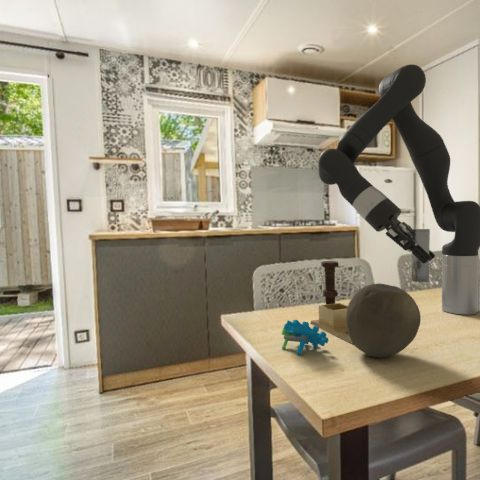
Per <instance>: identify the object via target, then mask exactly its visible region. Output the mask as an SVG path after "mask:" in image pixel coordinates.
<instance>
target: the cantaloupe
mask: <svg viewBox="0 0 480 480" xmlns="http://www.w3.org/2000/svg"><path fill="white" fill-rule="evenodd" d="M347 306H348V307H347V312H346V325H347V329H348V333H349V337H350V339H351V341H352V343H353V344H352V345H354V347H356V348H357V350H360V351H361V352H363V353H364V354H365V355H367V356H370V357H372V358H377V359H379V358H380V359H381V358H387V357H391V356H392V357H393V356H395V355H396V354H399V353H400V352H402V351H404V350H405V349H406V348H407V347H408V346H409V345H410V344H411V343H412V342H413V341H414V340H415V338H416V336H417V334H418V331H419V329H420V325H421V311H420V309H419V306H418V305H417V303H416V301H415V300H414V298H413V297H412V296H411V294H409V293H408V292H406V291H405V290H404V289H402V288H401V287H398V286H395V285H390V284H385V283H379V282H378V283H371V284H369V285H366V286H363V287H362V288H359V290H358V291H357V292H355V294H354V295H353V296H352V298H350V301H349V302H348V304H347Z"/></svg>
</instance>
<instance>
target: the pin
mask: <svg viewBox="0 0 480 480" xmlns="http://www.w3.org/2000/svg"><path fill="white" fill-rule="evenodd" d="M430 231H431V230H430V229H429V228H412V235H413V239H414V240H415V241H416V242H417V243H418V244H419V245H418V246H421V247H422V248H423V249H424V250H425V251H426V252H427V253H428V254H429V250H430V242H431V241H430V238H431V237H430V233H431V232H430ZM411 281H412V282H415V283H416V282H419V283H429V282H430V261H427V262H426V263H422V262H421V261H420V260H419V259H418V258H417V257H416V256H415V255H414V254H413V253H412V252H411Z"/></svg>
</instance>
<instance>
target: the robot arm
mask: <svg viewBox="0 0 480 480" xmlns="http://www.w3.org/2000/svg"><path fill="white" fill-rule="evenodd" d="M426 78H427V77H426V74H425V72H424V70H423V69H422V67H420V66H419V65H417V64H406V65H403V66H402V67H400V68H398V69H396V70H395V71H393V72H391V73H390V74H388V75H387V76H385V77H384V78H383V79H382V80H381V81H380V83H379V85H378V95H379V99H378V100H376V101H377V102H375V103H374V104H372V106H370V107H369V109H366V111H365V112H364V113H363V114H361V115H360V116H359V117H358V118H357V119H355V121H354V122H353V123H352V124H351V125H350V126H349V127H348V128H347V130H346V131H344V133H343V134H342V135H341V136H340V138H339V140H338V142H337V145H336V148H327V149H325V150H323V151H322V152H321V153H320V155H319V157H318V176H319V179H320V180H321V182H322V183H324V184H326V185H332V186H333V185H337V188H338V190H339V193H340V194H341V195H340V196H342V198H343V199H345V201H347V203H349V204H350V206H352V208H353V209H354V210H355V211H356V212H357V214H358V215H359V216H360V217H362V219H364V221H365V222H367V224H369V226H371V228H372V229H374V230H375V231H376V233H377V232H378V233H379V232H382V231H384V230H386V232H385V235H386V236H387V237H388V238H389V239H391V240H392V241H393V242H395V243H396V244H397V245H398V246H399V248H401V249H402V250H403V251H407V252H409V253H411V254H412V253H413V254H414V255H415V256H416V257H417V258H418V259H419V260H420V261H421V262H422V263H426V262H427V261H429V262H431V261H432V260H433V259H434V258H435V257H436V254H435V253H434V252H432V250H431V249H429V254H428V253H427V252H426V251H425V250H424V249H423V248H422V247H421V246H418V245H419V244H418V243H417V242H416V241H415V240H414V239H413V235H412V229H413V227H411V225H409V224H407V223H406V222H405V221H400V220H399V219H398V217H399V216H400V215H401V213H402V210H401V208H399V207H398V206H397V204H396V203H394V202H393V201H392V200H391V199H390V198H389V197H388V196H386V194H384V193H383V192H382V191H381V190H380V189H378V188H377V187H375V186H374V185H373V183H371V182H370V181H368V180H367V178H365V177H364V176H362V174H361V173H360V171H359V170H358V169H357V167H356V166H355V162H356V160H357V159H358V158H359V156H360V155H361V154H362V153H363V152H364V151H365V149H366V148H368V146H369V145H370V144H371V143H372V141H373V140H374V139H375V137H376V136H377V135H378V134H379V133H380V132H381V131H382V130H383V128H385V127H386V126H387V124H389V122H390V121H391V120H392V121H393V123H394V125H395V127H396V129H397V130H398V133H399V135H400V137H401V138H402V140H403V143H404V145H405V147H406V149H407V151H408V154H409V157H410V159H411V161H412V163H413V166H414V169H415V170H416V172H417V173H418V175H419V178H420V181H421V183H422V186H423V188H424V190H425V193H426V195H427V198H428V200H429V204H430V207H431V211H432V214H433V218H434V219H435V222H436V223H437V226H438V227H439V229H441V230H443V231H445V232H447V233H448V232H449V233H450V232H451V233H454V238H453V239H452V241H450V242H447V243H445V244H444V245H442V248H441V253H442V254H441V310H442V311H443V312H446V313H449V314H450V313H451V314H455V315H464V316H465V315H476V314H478V313H479V312H480V280H479V250H480V205H479V204H478V203H477V202H475V201H474V200H461V201H456V200H454V199H453V197H452V194H451V191H450V189H449V185H448V179H449V175H450V170H451V168H450V167H451V155H450V152H449V151H448V149H447V146H446V143H445V141H444V139H443V138H442V136H441V135H440V134H439V133H438V131H436V130H435V129H434V128H433V127H432V126H430V125H429V124H428V123H426V121H423V120H422V119H421V117H419V115H418V114H417V112H416V111H415V108H414V106H413V105H412V102H413V101H414V100H415V99H416V98H418V97H419V96H420V95H421V94H422V92H423V91H424V89H425V87H426V82H427V79H426Z"/></svg>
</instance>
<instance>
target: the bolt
mask: <svg viewBox="0 0 480 480" xmlns="http://www.w3.org/2000/svg"><path fill="white" fill-rule="evenodd" d="M320 266H321V267H322V268H324V279H325V280H324V286H325V289H323V290H322V295H323V297H324V298H325V301H324V302H325V305H326V304H334V303H336V298H337V296H338V292H339V291H338V290H337V289H336V279H335V278H336V277H335V276H336V275H335V274H336V268H339V262H338V261H336V260H322V261H321V264H320Z"/></svg>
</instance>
